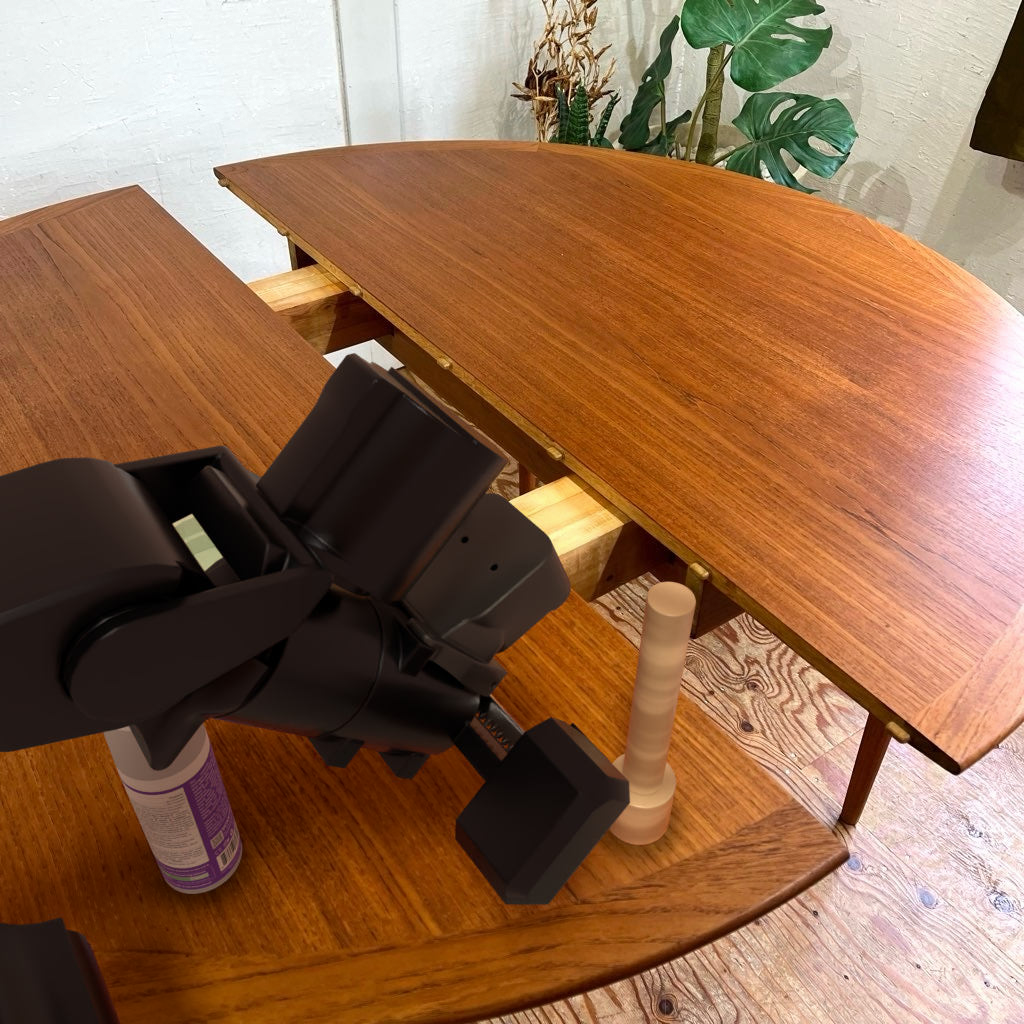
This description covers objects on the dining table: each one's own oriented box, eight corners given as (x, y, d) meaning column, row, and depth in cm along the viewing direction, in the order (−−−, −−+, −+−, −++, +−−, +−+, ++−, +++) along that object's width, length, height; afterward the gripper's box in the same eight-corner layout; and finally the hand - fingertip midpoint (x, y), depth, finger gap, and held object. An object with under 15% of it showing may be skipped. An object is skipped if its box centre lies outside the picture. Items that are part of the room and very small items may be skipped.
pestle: (662, 853, 57) (705, 636, 45) (597, 835, 58) (622, 617, 46) (674, 797, 60) (718, 579, 48) (611, 781, 61) (639, 562, 49)
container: (216, 807, 59) (161, 643, 50) (258, 857, 57) (209, 694, 47) (146, 856, 57) (74, 693, 47) (187, 910, 54) (120, 750, 45)
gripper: (625, 640, 29) (782, 718, 41) (330, 375, 41) (521, 498, 53) (406, 918, 30) (623, 914, 42) (178, 582, 41) (401, 655, 54)
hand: (536, 721), depth 48 cm, fingers open, 9 cm apart
